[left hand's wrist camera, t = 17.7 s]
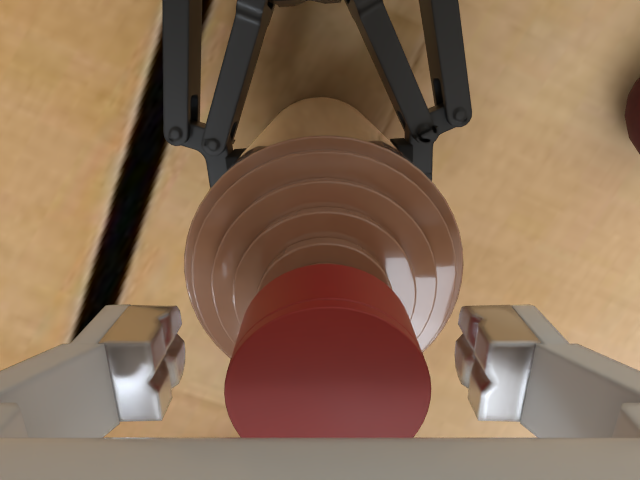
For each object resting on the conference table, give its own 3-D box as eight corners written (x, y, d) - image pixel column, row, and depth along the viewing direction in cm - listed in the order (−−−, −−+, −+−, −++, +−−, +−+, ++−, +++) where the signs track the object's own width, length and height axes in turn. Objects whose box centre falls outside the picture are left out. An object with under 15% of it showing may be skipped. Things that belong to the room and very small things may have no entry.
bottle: (403, 162, 30) (617, 388, 9) (316, 238, 32) (315, 576, 11) (324, 69, 28) (345, 63, 7) (235, 155, 30) (28, 369, 9)
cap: (207, 310, 10) (182, 362, 8) (366, 232, 9) (377, 270, 7) (292, 431, 11) (287, 500, 9) (437, 370, 10) (462, 431, 8)
